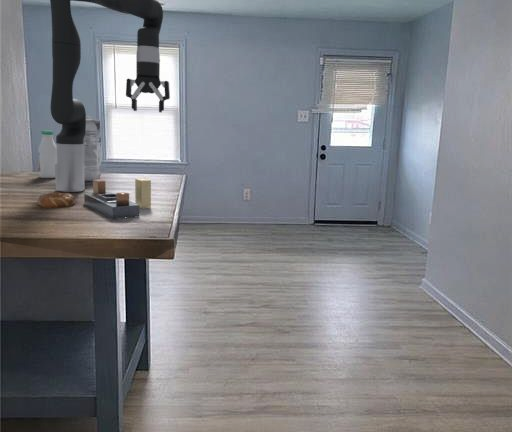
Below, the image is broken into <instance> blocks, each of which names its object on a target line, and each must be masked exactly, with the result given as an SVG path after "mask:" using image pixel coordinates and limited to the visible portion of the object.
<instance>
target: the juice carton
mask: <svg viewBox="0 0 512 432" xmlns="http://www.w3.org/2000/svg"><path fill="white" fill-rule="evenodd" d="M101 139H102V138H101V121H100V119H95V118H94V119H92V116H90V115H86V133H85V137H84V140H83V144H84V182H93V180H94V179H101V175H102V140H101Z"/></svg>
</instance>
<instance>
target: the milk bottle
mask: <svg viewBox="0 0 512 432" xmlns="http://www.w3.org/2000/svg"><path fill="white" fill-rule="evenodd" d="M41 136H42V137H41V141H40V143H39V146H38V150H37V151H38V175H39V178H42V179H55V165H56V164H57V149H56V142H55V141H54V131H53V130H41Z"/></svg>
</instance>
